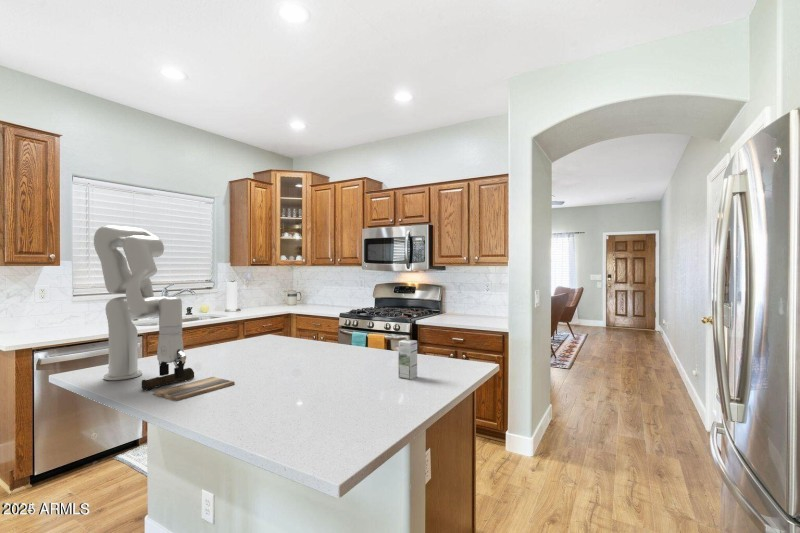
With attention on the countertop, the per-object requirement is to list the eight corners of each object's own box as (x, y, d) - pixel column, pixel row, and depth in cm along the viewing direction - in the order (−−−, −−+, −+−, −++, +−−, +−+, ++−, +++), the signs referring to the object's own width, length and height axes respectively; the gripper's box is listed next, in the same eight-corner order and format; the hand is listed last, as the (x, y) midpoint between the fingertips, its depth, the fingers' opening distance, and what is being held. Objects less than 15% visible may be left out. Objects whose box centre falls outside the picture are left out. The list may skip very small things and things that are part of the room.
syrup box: (417, 376, 162) (417, 340, 162) (410, 380, 157) (410, 342, 157) (405, 374, 165) (405, 338, 165) (397, 377, 160) (397, 341, 160)
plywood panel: (154, 394, 139) (154, 390, 139) (212, 379, 158) (212, 376, 158) (175, 400, 132) (175, 396, 132) (234, 384, 151) (234, 380, 151)
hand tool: (146, 392, 142) (146, 378, 142) (140, 390, 145) (140, 377, 145) (197, 379, 158) (198, 367, 158) (192, 378, 161) (192, 366, 161)
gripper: (147, 330, 153) (148, 376, 153) (174, 333, 144) (174, 382, 144) (167, 328, 159) (168, 371, 159) (194, 330, 150) (194, 377, 150)
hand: (171, 376), depth 151 cm, fingers open, 9 cm apart
